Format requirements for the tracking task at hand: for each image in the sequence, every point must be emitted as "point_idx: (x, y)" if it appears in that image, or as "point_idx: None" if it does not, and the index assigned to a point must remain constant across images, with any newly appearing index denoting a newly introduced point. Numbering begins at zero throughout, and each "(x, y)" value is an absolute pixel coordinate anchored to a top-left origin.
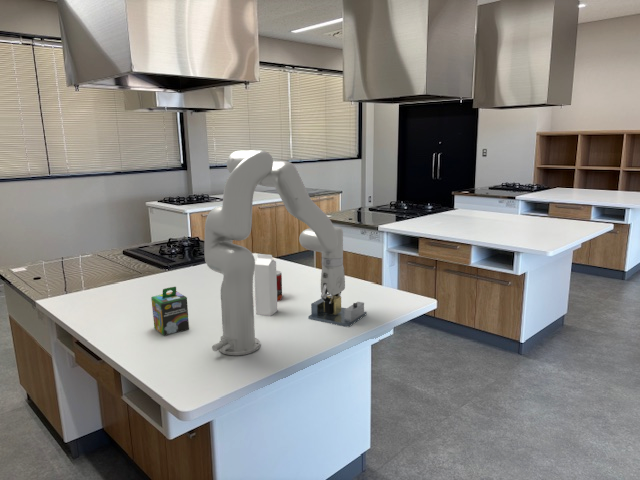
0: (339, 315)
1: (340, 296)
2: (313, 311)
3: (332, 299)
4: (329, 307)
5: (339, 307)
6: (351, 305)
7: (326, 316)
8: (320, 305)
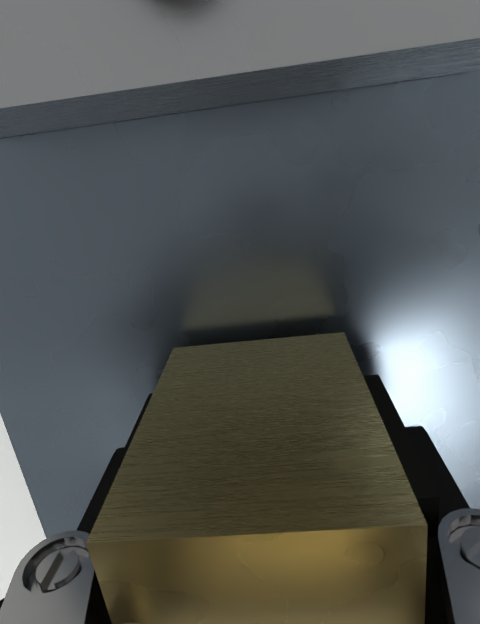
0: (287, 294)
1: (16, 577)
2: None
3: (423, 594)
4: (448, 471)
5: (218, 382)
6: (183, 80)
7: (419, 409)
8: None
